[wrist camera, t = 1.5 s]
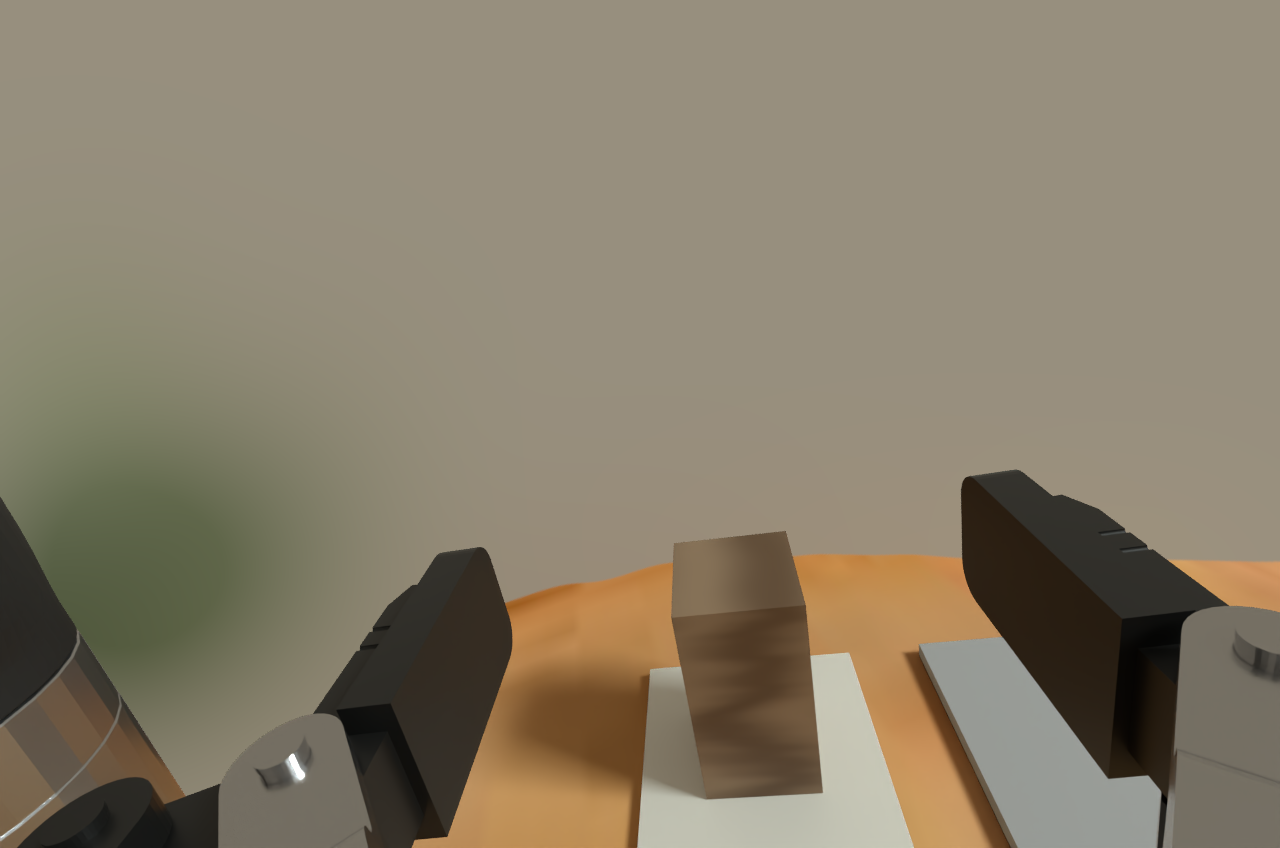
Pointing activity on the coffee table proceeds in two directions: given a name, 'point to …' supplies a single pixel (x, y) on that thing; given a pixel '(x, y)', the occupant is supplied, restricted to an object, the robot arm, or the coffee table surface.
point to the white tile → (771, 825)
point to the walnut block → (746, 665)
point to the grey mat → (1034, 755)
